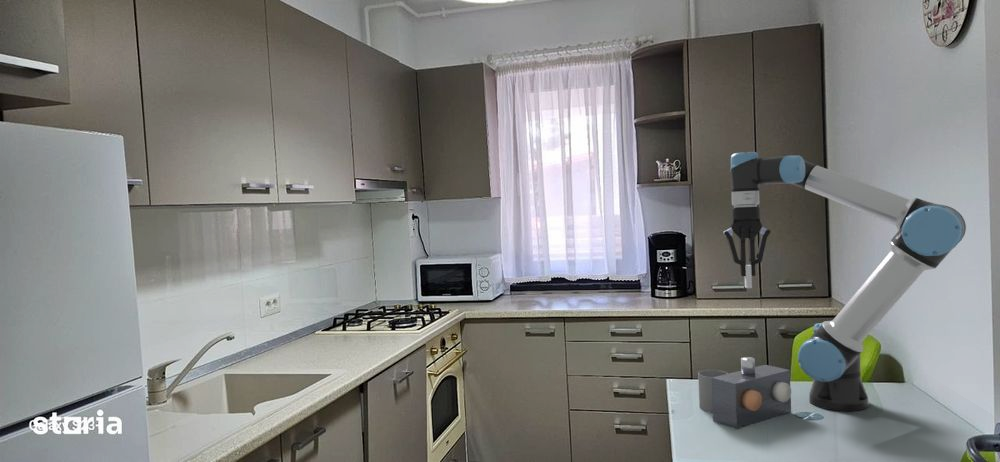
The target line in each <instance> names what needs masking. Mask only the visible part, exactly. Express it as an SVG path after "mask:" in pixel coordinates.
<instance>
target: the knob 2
mask: <svg viewBox="0 0 1000 462" xmlns="http://www.w3.org/2000/svg"><path fill="white" fill-rule="evenodd" d="M772 394H773V397H774V399H775V400H777V401H781V402H787V401H788V400H789V398H790V396H791V397H792V388H791V384H790V385H789V384H787V383H784V382H777V383H776V384H775V385H774V387H773V391H772Z"/></svg>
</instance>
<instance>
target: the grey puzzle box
mask: <svg viewBox="0 0 1000 462" xmlns="http://www.w3.org/2000/svg"><path fill="white" fill-rule="evenodd" d="M777 382H784V383H787V384H789V385H790V386H791V369H786V368H782V367H779V366H773V365H770V364H763V365H758V366H755V374H753V375H746V374H742V373H741V370H738V371H734V372H730V373H729V372H728V374H725V375H721V376H716V377H712V402H713V412H712V421H713V422H715V423H717V424H721V425H724V426H725V427H726V426H727V427H729V428H733V429H735V430H738V429H742V428H745V427H748V426H752V425H755V424H758V423H762V422H765V421H769V420H772V419H774V418H775V419H776V418H778V417H782V416H785V415H788V414H791V413H792V395H791V396H790V398H789V400H788V401H787V402H781V401H777V400H775V399H774V397H773V394H772V391H773V387H774V385H775V384H776V383H777ZM749 389H751V390H754V391H758V392H759V393H760V394H761V396H762V403H761V406H760V408H759V409H758V410H756V411H752V410H749V409H746V408H745V407H744V406H743V403H742V398H743V395H744V393H745V392H746V391H747V390H749Z"/></svg>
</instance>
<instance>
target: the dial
mask: <svg viewBox="0 0 1000 462" xmlns="http://www.w3.org/2000/svg"><path fill="white" fill-rule="evenodd" d="M755 363H756V360H755V357H750V356H744V357H741V358H740V366H741V367H740V371H741V373H742V374H746V375H753V374H755V367H756V364H755Z"/></svg>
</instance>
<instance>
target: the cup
mask: <svg viewBox="0 0 1000 462" xmlns="http://www.w3.org/2000/svg"><path fill="white" fill-rule="evenodd" d="M725 374H729V372H726V371H725V370H717V369H706V370H700V371H698V373H697V375H698V377H697V378H698V400H699V401H698V403H699V409H700V410H702V411H705V412H709V413H713V402H712V377H716V376H721V375H725Z"/></svg>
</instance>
